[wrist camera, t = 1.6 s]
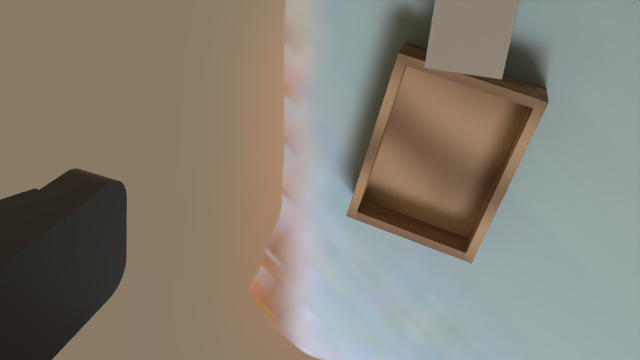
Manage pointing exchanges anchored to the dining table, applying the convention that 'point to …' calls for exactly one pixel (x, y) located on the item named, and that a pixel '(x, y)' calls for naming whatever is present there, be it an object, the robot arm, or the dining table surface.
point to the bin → (444, 153)
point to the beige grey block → (471, 36)
